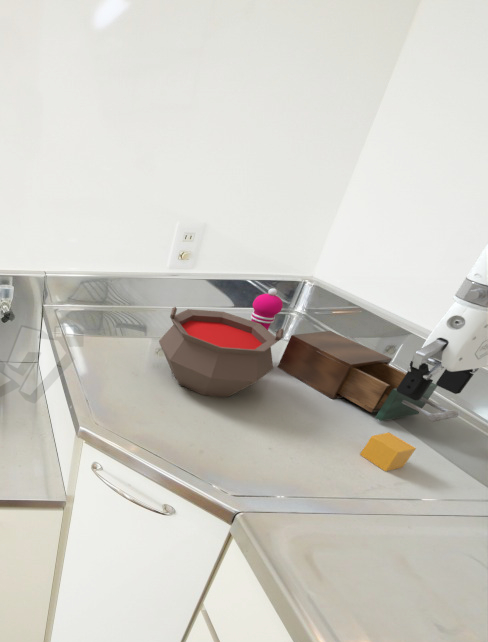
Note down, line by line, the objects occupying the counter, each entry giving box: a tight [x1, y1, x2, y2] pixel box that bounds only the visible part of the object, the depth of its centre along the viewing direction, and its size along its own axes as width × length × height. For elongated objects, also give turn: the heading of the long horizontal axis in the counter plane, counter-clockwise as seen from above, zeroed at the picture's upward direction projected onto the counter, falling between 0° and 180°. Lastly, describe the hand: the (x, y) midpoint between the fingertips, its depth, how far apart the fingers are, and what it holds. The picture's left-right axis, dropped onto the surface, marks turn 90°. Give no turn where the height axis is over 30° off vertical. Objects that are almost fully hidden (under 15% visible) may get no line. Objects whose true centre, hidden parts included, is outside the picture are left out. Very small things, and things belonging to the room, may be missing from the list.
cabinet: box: [277, 330, 393, 400], centre depth 101 cm, size 15×13×9 cm
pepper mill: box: [250, 287, 284, 331], centre depth 104 cm, size 7×7×20 cm
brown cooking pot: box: [158, 306, 285, 398], centre depth 96 cm, size 24×24×16 cm
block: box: [359, 432, 417, 472], centre depth 76 cm, size 4×4×4 cm
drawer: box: [338, 363, 459, 422], centre depth 90 cm, size 20×11×7 cm, turn 16°
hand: (427, 392), depth 71 cm, fingers open, 9 cm apart
